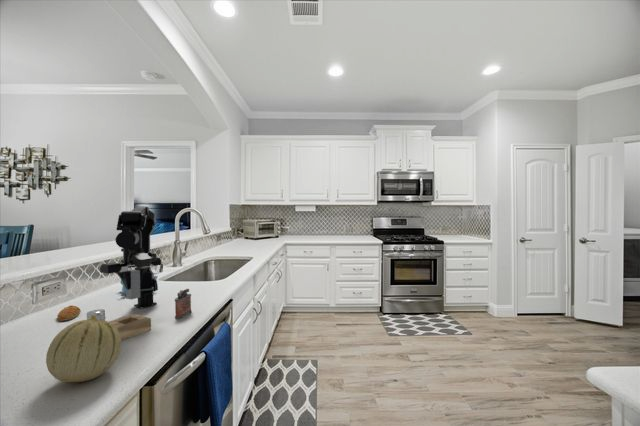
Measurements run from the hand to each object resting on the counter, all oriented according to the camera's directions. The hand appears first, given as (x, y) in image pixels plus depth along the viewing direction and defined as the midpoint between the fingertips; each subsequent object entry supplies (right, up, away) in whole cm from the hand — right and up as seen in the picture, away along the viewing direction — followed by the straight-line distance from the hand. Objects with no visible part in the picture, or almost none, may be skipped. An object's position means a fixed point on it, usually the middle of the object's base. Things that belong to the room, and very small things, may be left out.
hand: (133, 288), depth 107 cm
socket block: (+2, -14, -5) cm, 15 cm away
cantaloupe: (+9, -15, -33) cm, 37 cm away
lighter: (+14, -14, +10) cm, 22 cm away
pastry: (-31, -14, +9) cm, 35 cm away
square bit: (0, -4, 0) cm, 4 cm away
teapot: (-25, -13, +44) cm, 52 cm away
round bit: (-12, -14, -2) cm, 18 cm away
